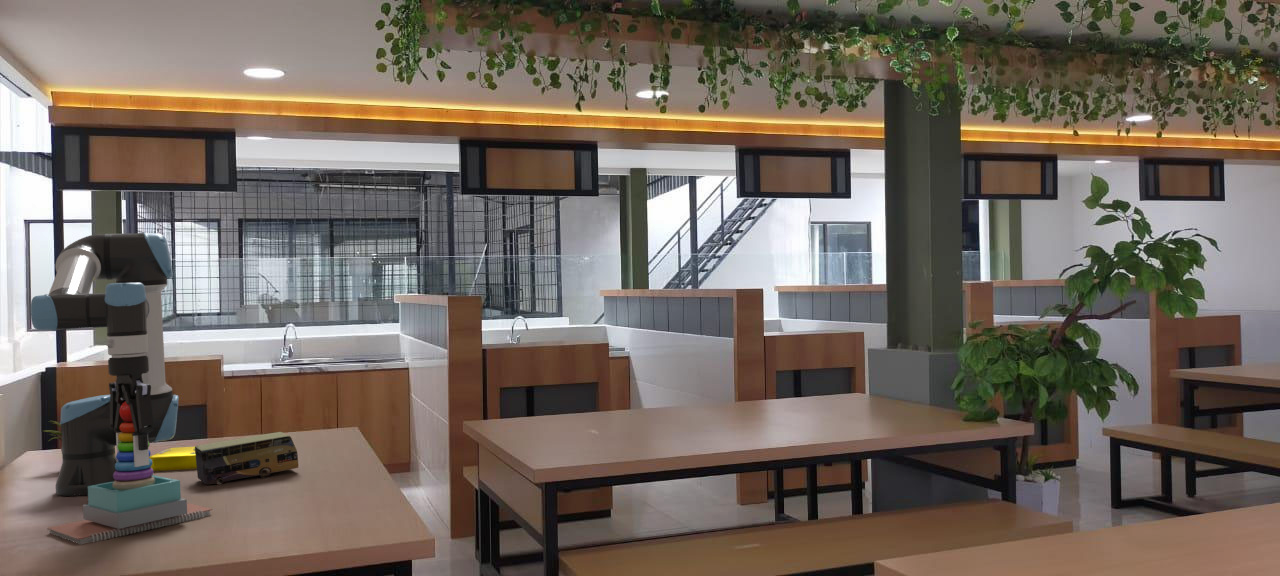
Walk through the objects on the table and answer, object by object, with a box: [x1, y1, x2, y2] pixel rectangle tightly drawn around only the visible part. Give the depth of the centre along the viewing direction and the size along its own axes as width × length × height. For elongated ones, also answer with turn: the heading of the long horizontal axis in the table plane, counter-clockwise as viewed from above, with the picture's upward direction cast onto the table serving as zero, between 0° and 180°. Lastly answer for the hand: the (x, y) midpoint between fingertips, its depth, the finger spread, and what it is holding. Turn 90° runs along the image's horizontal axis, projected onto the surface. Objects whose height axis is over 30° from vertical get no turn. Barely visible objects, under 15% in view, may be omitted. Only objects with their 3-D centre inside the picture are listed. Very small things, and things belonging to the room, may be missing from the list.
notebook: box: [46, 502, 213, 545], centre depth 203 cm, size 27×17×2 cm, turn 141°
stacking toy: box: [112, 401, 155, 491], centre depth 201 cm, size 8×8×19 cm
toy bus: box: [194, 431, 299, 486], centre depth 250 cm, size 10×23×10 cm, turn 125°
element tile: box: [149, 446, 197, 472], centre depth 271 cm, size 15×15×5 cm
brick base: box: [82, 474, 188, 529], centre depth 201 cm, size 16×14×7 cm
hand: (133, 463), depth 201 cm, fingers closed on stacking toy, 7 cm apart
